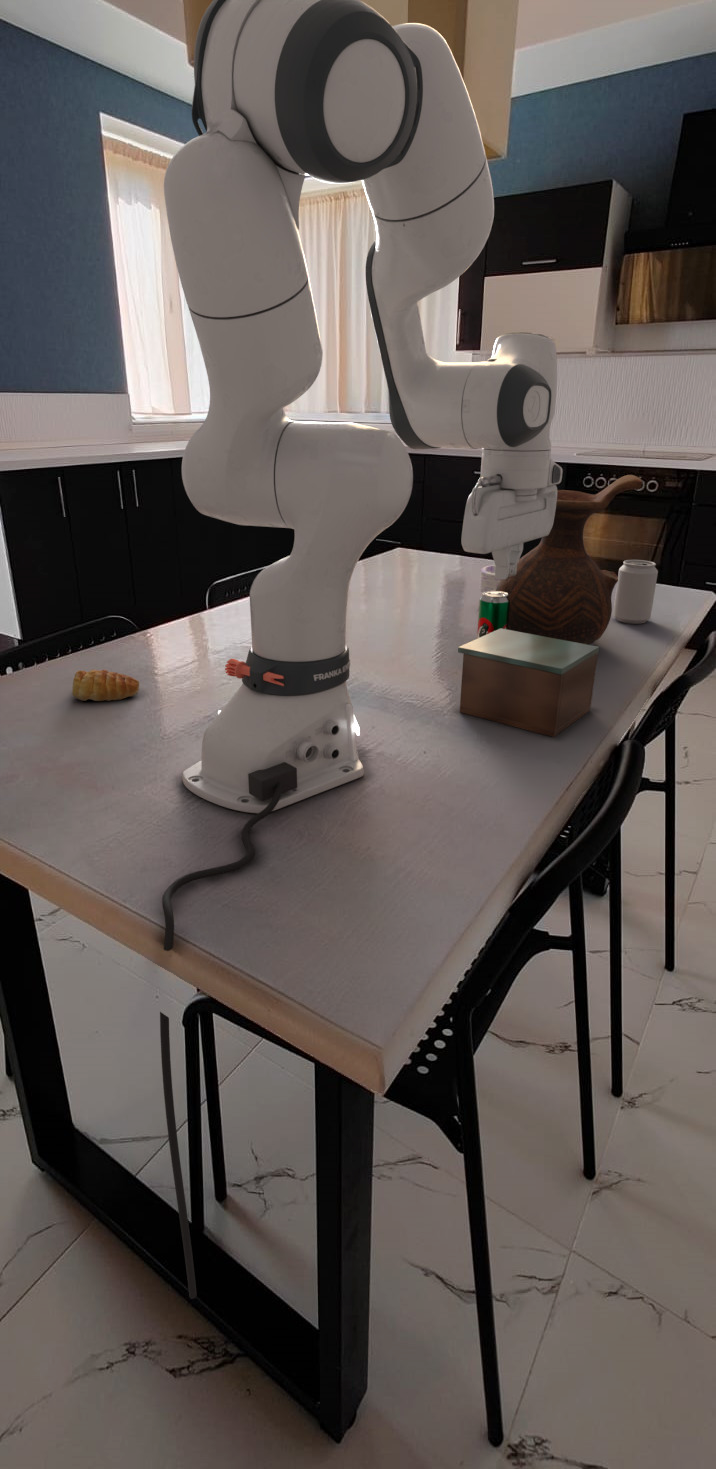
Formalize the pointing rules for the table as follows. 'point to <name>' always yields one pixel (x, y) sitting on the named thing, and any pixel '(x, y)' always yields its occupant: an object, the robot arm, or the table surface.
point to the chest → (526, 694)
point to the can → (635, 591)
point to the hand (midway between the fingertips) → (505, 577)
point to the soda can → (493, 612)
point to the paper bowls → (488, 579)
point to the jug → (565, 574)
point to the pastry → (103, 685)
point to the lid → (529, 650)
